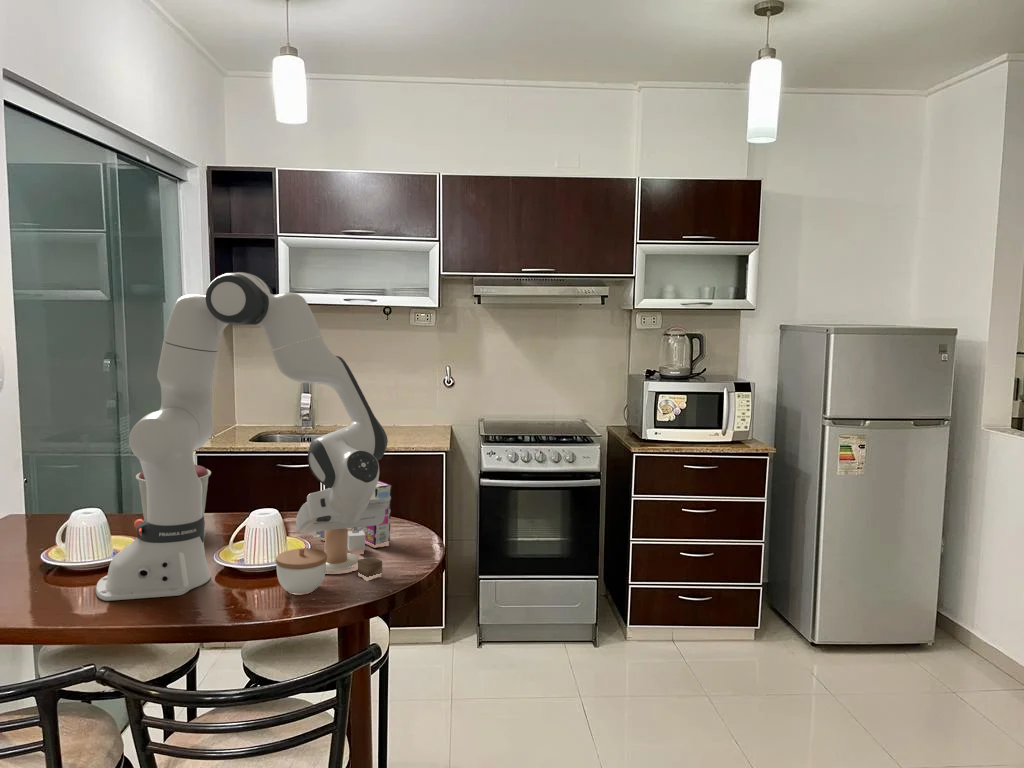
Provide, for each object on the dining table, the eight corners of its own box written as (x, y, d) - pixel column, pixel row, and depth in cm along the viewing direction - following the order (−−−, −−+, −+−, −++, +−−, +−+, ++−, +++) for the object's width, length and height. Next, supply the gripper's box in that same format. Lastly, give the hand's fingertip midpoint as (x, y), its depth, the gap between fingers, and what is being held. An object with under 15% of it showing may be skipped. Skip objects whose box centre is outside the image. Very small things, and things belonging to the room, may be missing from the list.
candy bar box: (391, 546, 191) (392, 484, 189) (374, 549, 187) (375, 487, 186) (368, 535, 199) (369, 476, 197) (352, 538, 195) (353, 479, 194)
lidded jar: (274, 601, 152) (274, 558, 151) (276, 582, 163) (277, 542, 162) (327, 598, 155) (327, 555, 154) (326, 579, 165) (326, 539, 165)
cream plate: (313, 578, 166) (313, 573, 166) (300, 559, 178) (300, 554, 178) (372, 569, 173) (372, 565, 173) (356, 552, 185) (356, 547, 185)
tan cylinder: (327, 564, 172) (327, 525, 171) (321, 557, 176) (322, 519, 176) (350, 561, 174) (350, 522, 173) (343, 554, 179) (344, 516, 178)
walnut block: (367, 581, 165) (367, 564, 165) (357, 576, 168) (357, 560, 168) (381, 577, 168) (382, 561, 168) (372, 572, 171) (372, 556, 171)
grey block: (348, 555, 182) (349, 536, 182) (347, 550, 186) (347, 531, 186) (364, 554, 184) (365, 535, 183) (362, 549, 187) (363, 530, 187)
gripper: (388, 487, 172) (374, 517, 181) (300, 494, 162) (290, 525, 172) (394, 511, 169) (379, 539, 178) (304, 519, 159) (294, 549, 168)
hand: (335, 532), depth 175 cm, fingers open, 8 cm apart
